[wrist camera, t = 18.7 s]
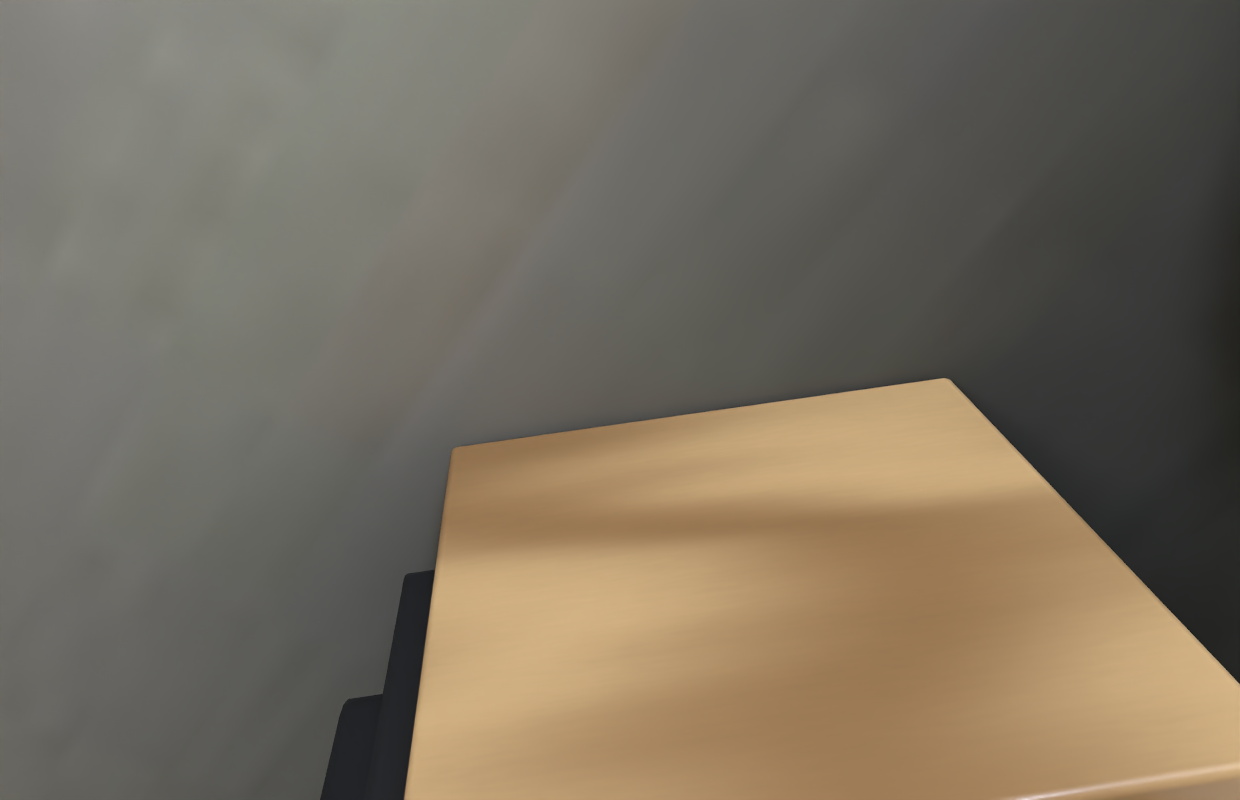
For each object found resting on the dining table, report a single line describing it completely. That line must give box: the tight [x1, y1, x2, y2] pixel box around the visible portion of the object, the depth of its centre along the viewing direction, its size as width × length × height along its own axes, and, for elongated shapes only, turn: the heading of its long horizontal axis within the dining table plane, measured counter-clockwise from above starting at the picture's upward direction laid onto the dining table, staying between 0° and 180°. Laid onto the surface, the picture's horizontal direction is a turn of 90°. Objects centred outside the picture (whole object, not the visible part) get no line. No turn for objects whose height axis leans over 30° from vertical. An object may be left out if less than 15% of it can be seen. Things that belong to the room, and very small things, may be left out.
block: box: [404, 378, 1240, 800], centre depth 9 cm, size 6×6×6 cm
